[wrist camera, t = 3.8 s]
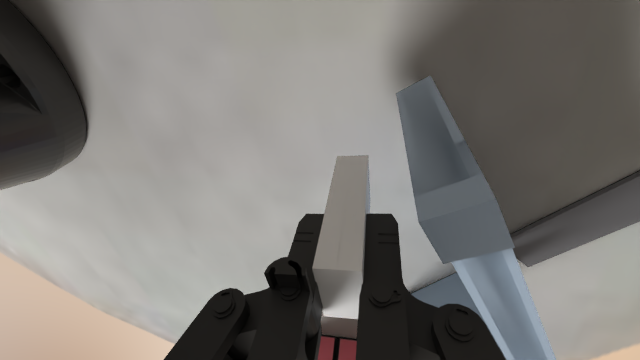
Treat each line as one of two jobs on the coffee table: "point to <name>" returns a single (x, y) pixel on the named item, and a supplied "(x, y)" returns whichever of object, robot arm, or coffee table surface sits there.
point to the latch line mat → (580, 222)
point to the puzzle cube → (337, 348)
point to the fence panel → (448, 295)
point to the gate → (467, 222)
